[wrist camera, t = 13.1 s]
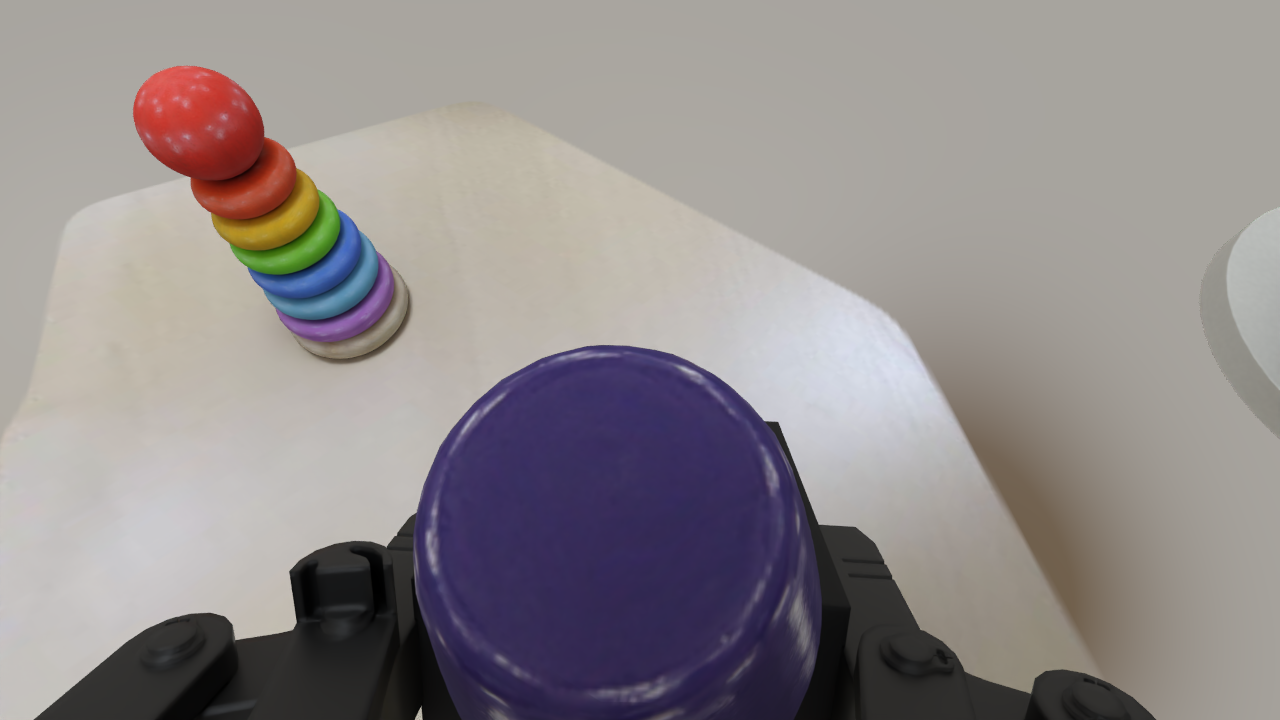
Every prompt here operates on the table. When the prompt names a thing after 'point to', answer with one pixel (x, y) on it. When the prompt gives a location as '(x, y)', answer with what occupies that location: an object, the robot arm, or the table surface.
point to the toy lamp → (617, 549)
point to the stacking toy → (272, 213)
